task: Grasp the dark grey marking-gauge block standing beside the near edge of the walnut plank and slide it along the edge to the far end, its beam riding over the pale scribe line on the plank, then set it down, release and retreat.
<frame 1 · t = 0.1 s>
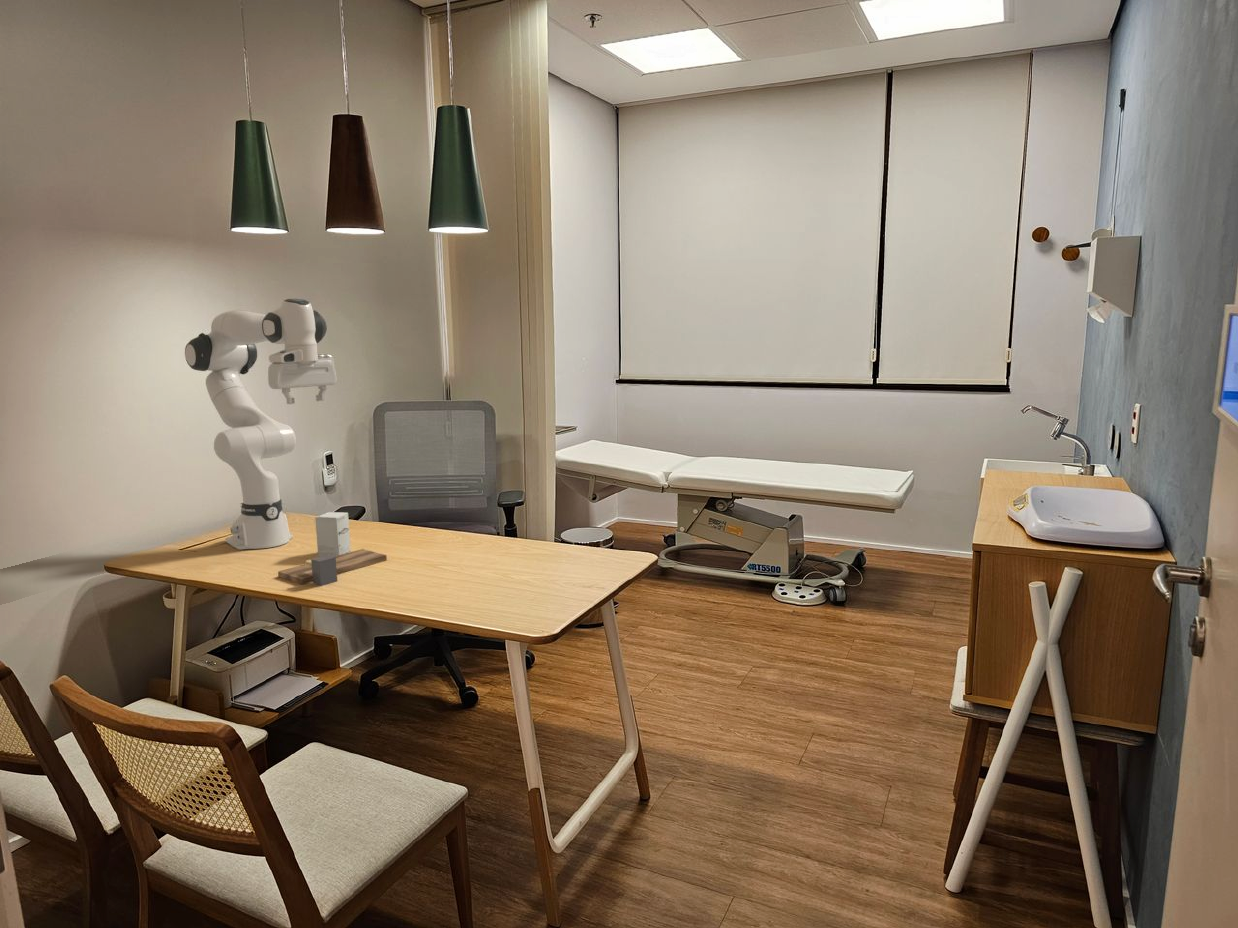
hand: (305, 402, 239), 48 cm above the table, fingers open, 8 cm apart
supplement box: (334, 554, 252), on the table
plank: (334, 568, 237), on the table
gauge: (325, 582, 224), on the table
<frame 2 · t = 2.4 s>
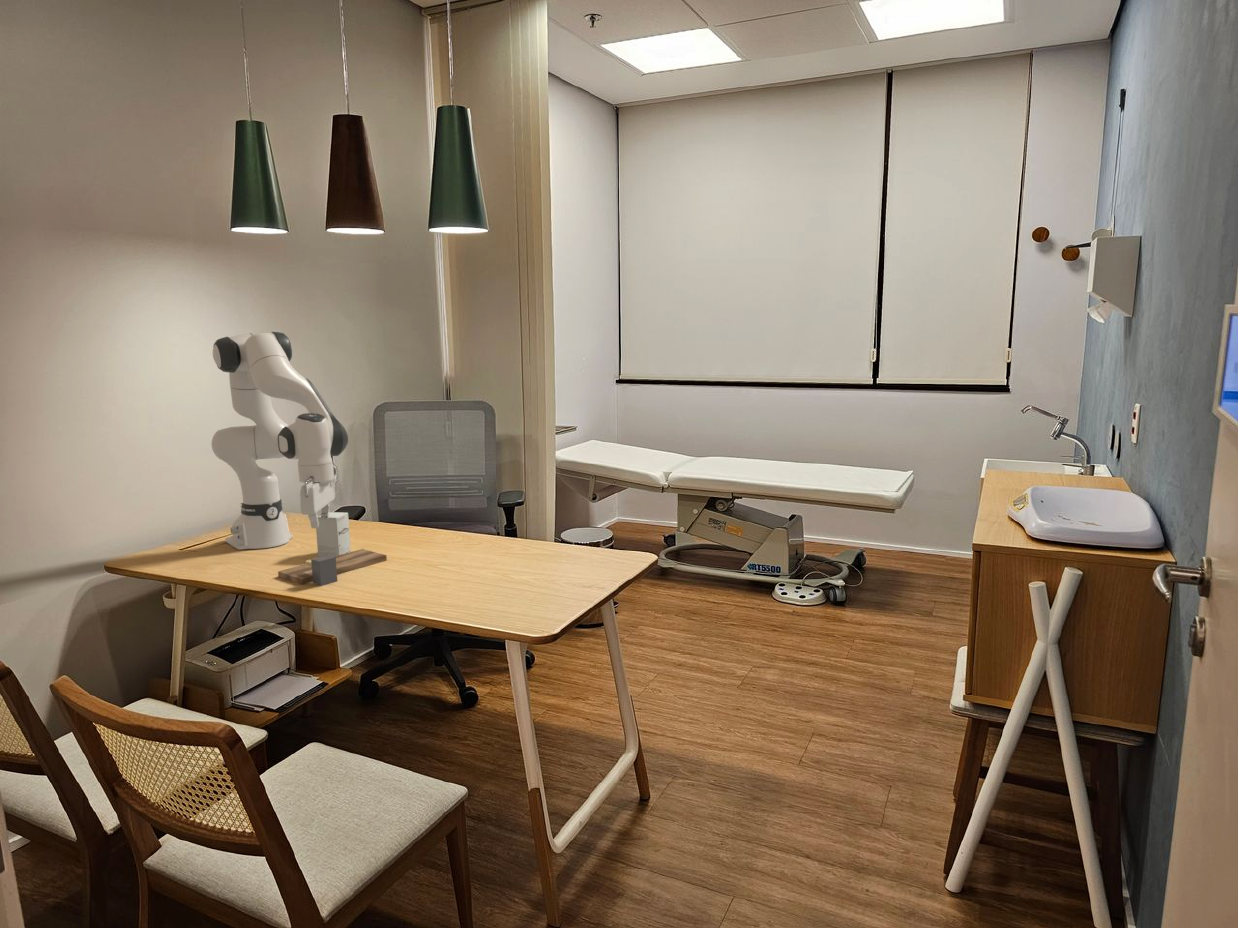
hand: (320, 523, 221), 17 cm above the table, fingers open, 8 cm apart
nothing on the table moved.
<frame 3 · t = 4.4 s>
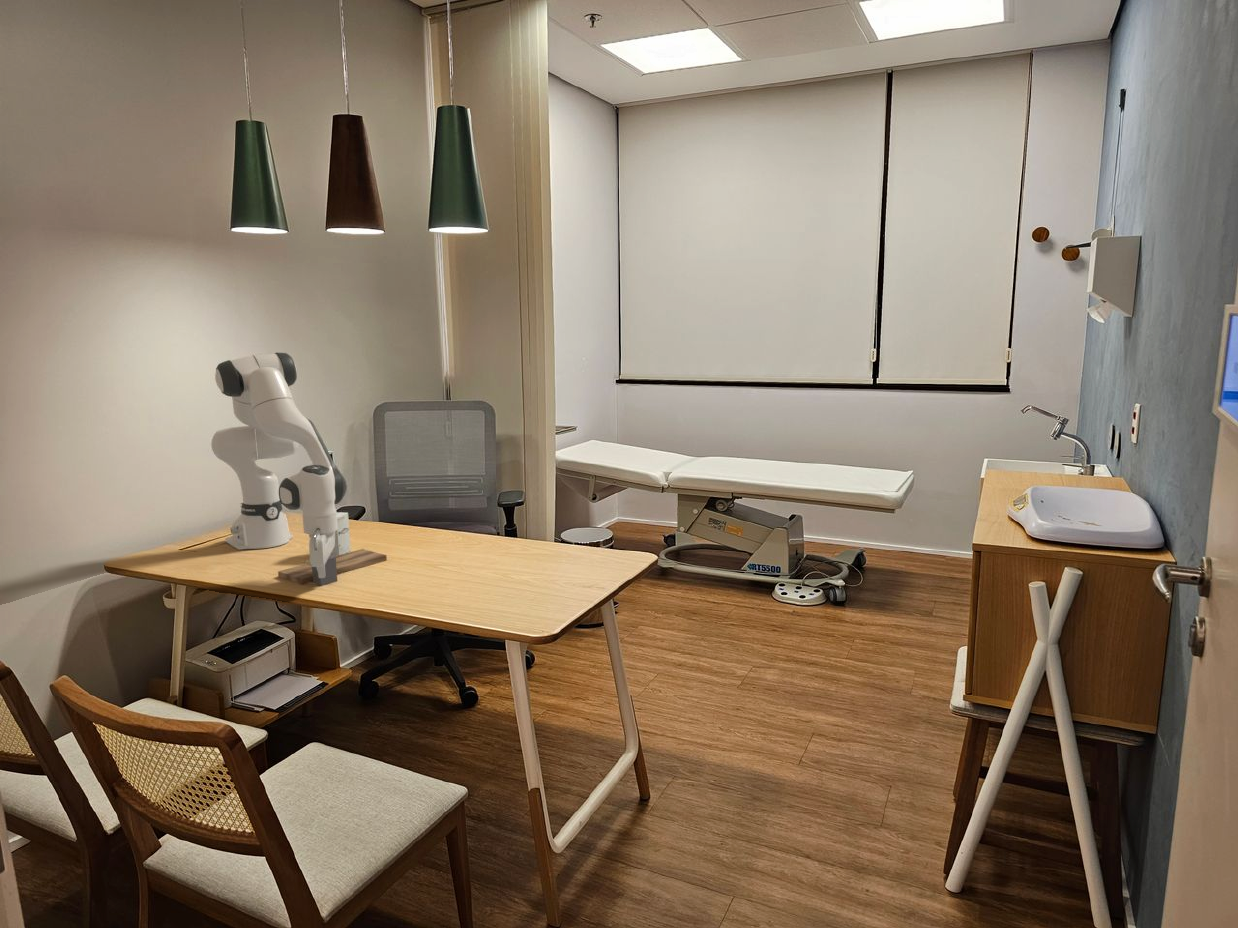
hand: (324, 573, 224), 3 cm above the table, fingers closed on gauge, 6 cm apart
gauge: (325, 582, 224), on the table, touching gripper
everything else where it was.
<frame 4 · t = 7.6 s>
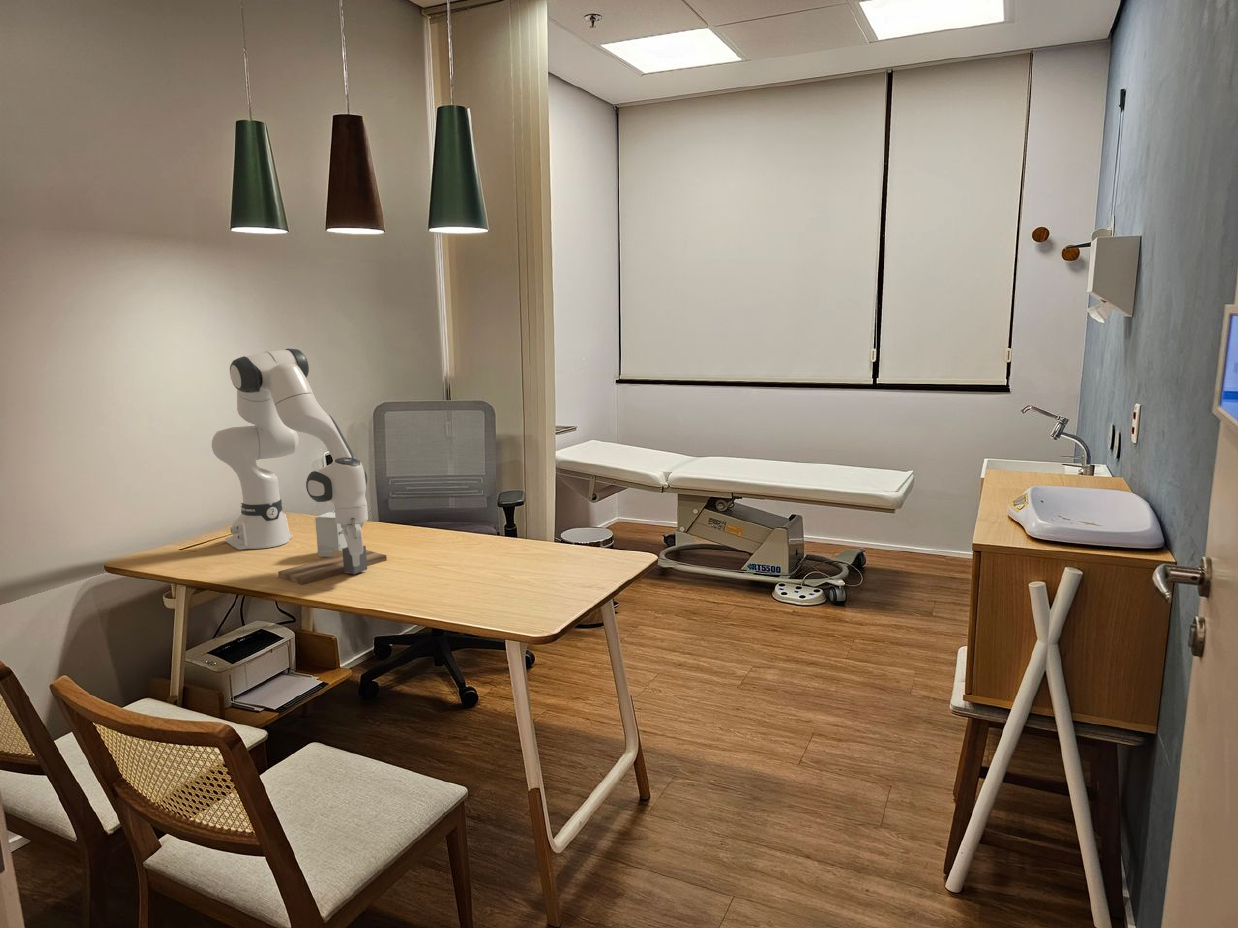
hand: (355, 561, 231), 3 cm above the table, fingers closed on gauge, 6 cm apart
gauge: (355, 570, 232), point 1 cm above the table, touching gripper
everything else where it was.
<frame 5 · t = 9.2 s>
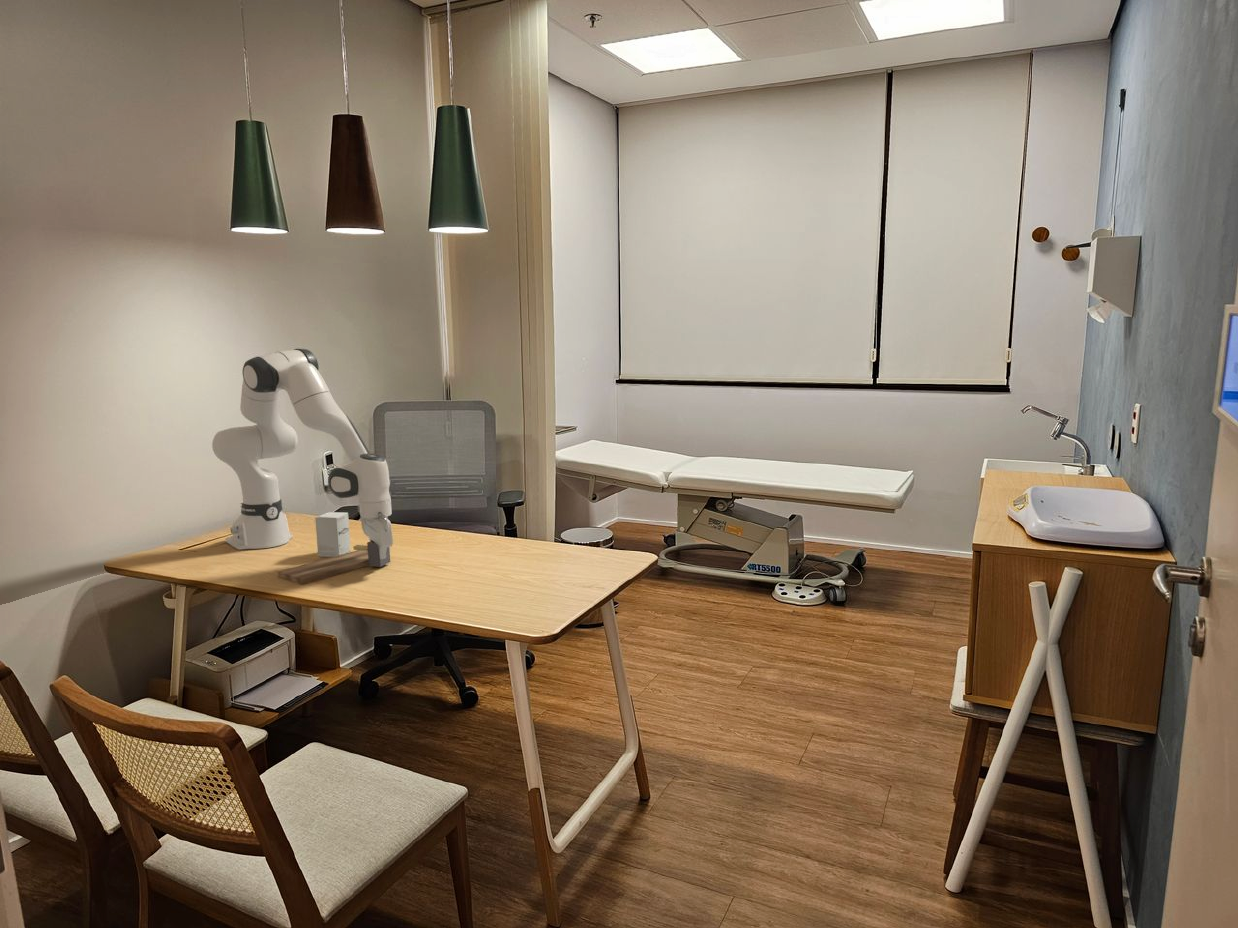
hand: (379, 555, 238), 3 cm above the table, fingers closed on gauge, 6 cm apart
gauge: (379, 563, 238), point 1 cm above the table, touching gripper
everything else where it was.
when the fingers open (3 cm above the table, at t = 10.6 s): gauge stays where it is, on the table.
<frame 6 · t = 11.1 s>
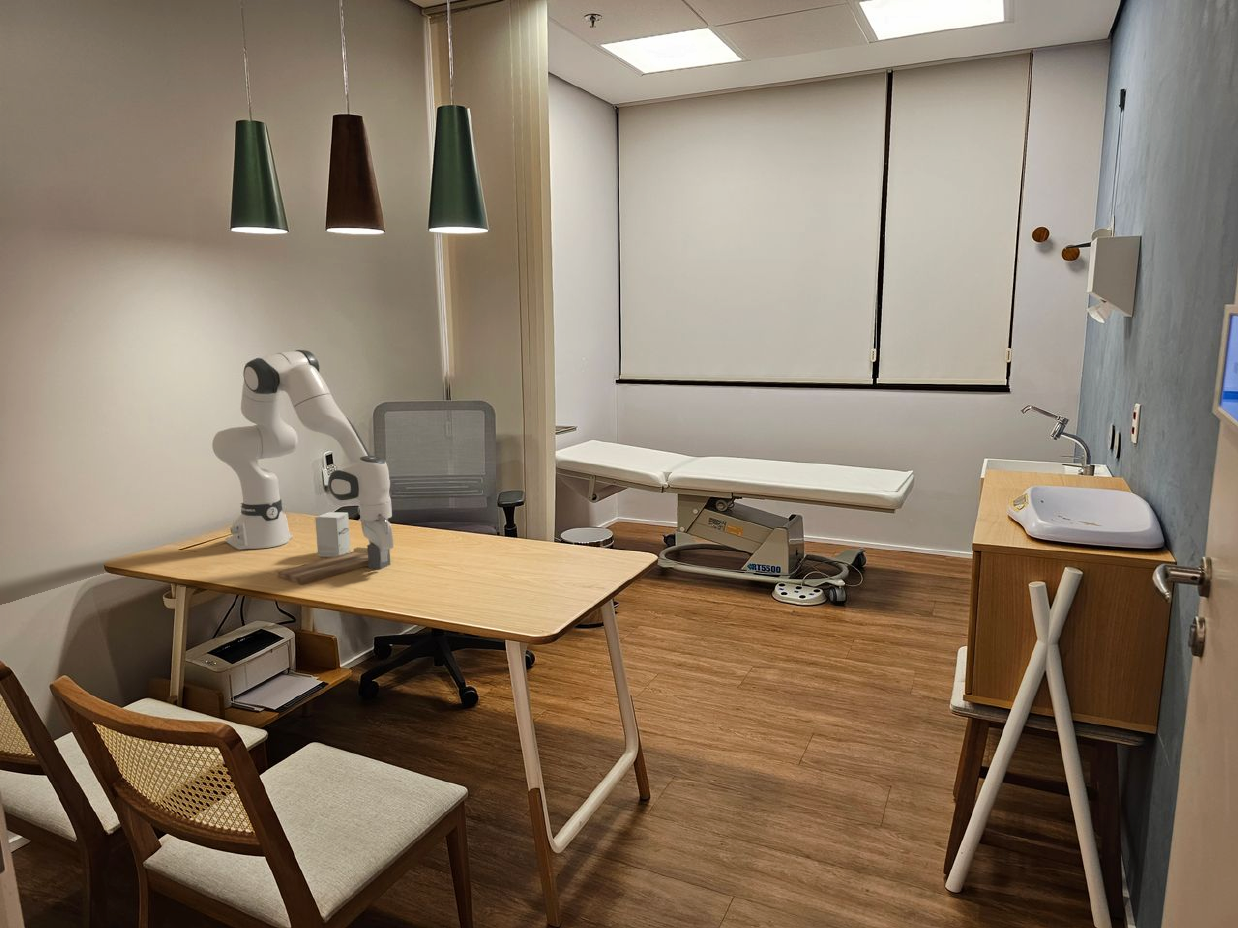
hand: (379, 557, 238), 3 cm above the table, fingers open, 8 cm apart
gauge: (379, 566, 238), on the table
everything else where it was.
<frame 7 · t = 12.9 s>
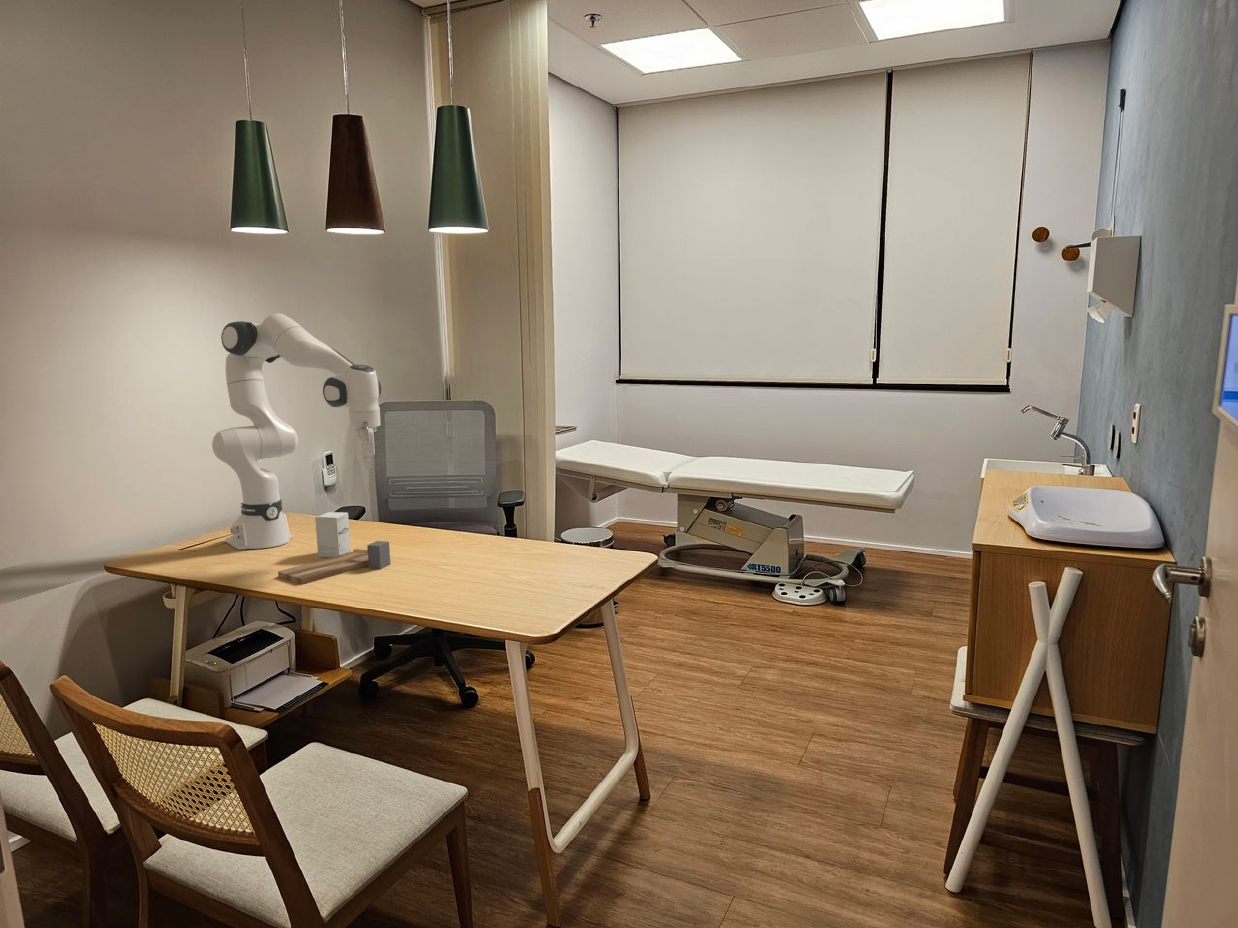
hand: (367, 465, 243), 28 cm above the table, fingers open, 8 cm apart
nothing on the table moved.
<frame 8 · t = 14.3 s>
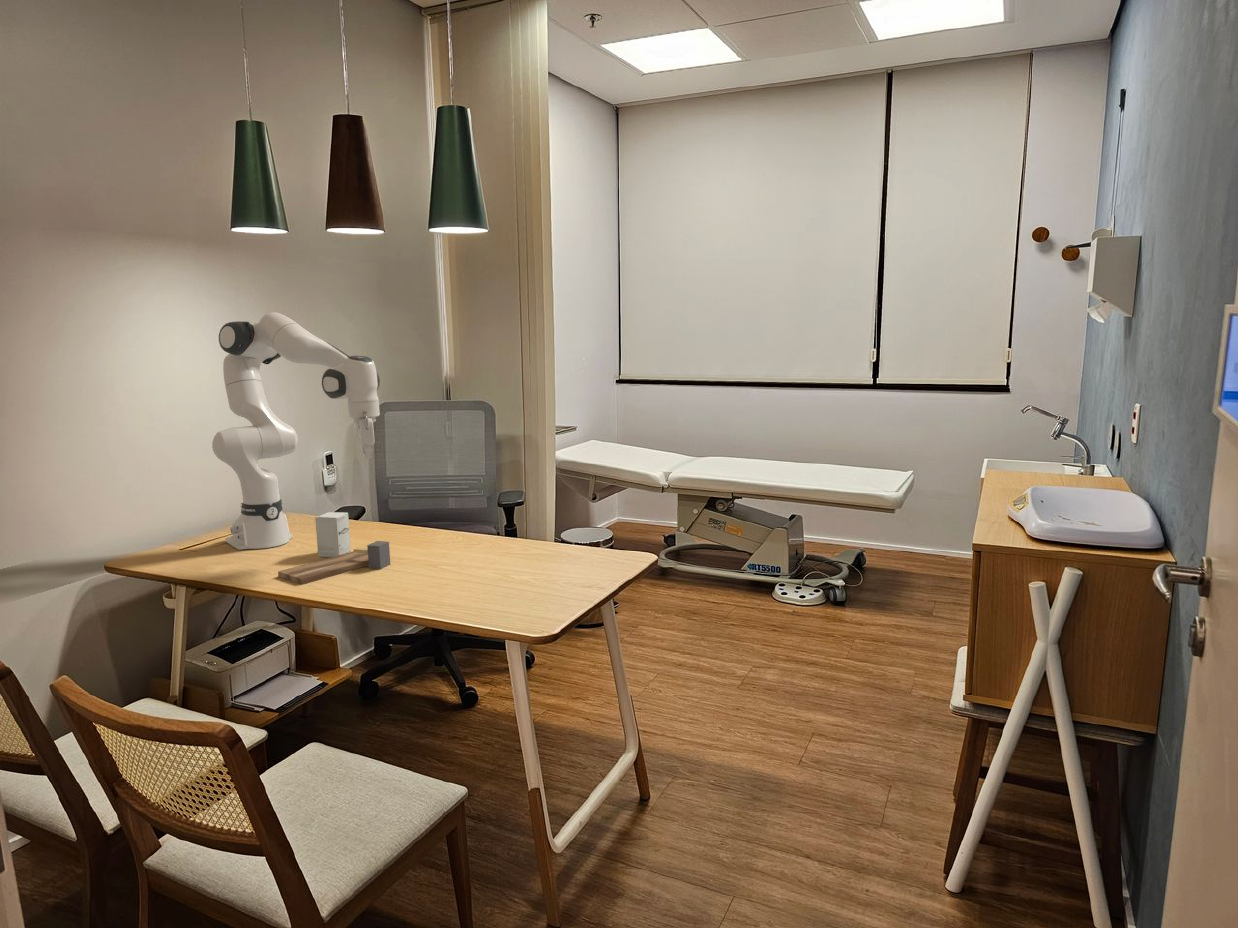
hand: (367, 456, 244), 31 cm above the table, fingers open, 8 cm apart
nothing on the table moved.
at the end: gauge 0.4 cm from the target spot, on the table; gauge tilted 0°; the gripper is holding nothing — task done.
